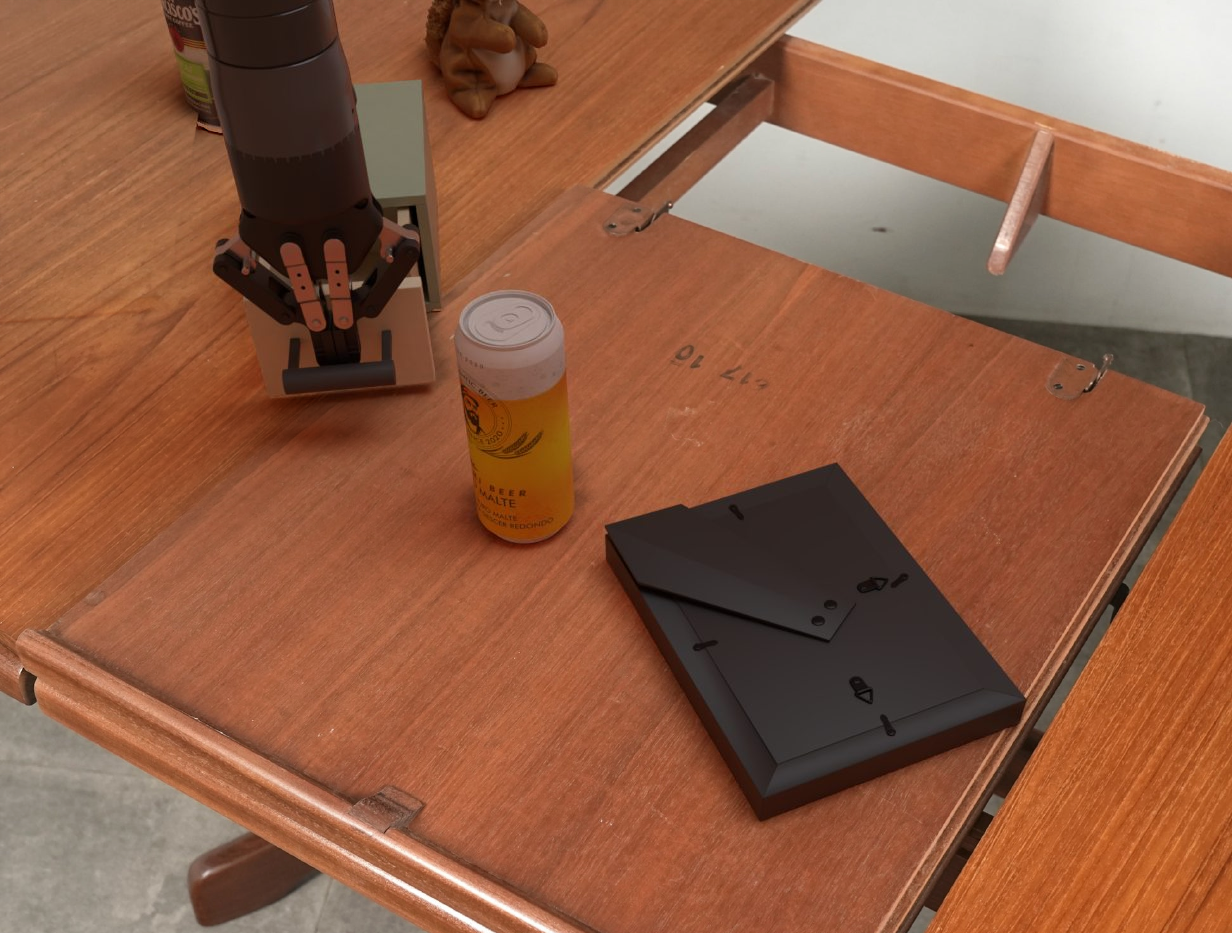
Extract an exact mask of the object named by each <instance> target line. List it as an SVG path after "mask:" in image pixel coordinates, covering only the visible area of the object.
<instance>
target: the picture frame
mask: <svg viewBox="0 0 1232 933" xmlns="http://www.w3.org/2000/svg"><path fill="white" fill-rule="evenodd" d="M604 529H605V531H606V533H605V534H604V546H605V559H606V561H607V563H608V565H609V566H610V568H611V569H612V571H613V573H614V575H615V576H616V578H617V580H618V581H619V583H620V585H621V586H622V588H623V590H624V592H625V593H626V595H627V597H628V599H629V600H630V602H631V603H632V605H633V607H634V609H635V610H636V612H637V614H638V615H639V617H640V620H642V622H643V624H644V626H645V628H646V629H647V631H648V632H649V634H650V636H651V637H652V640H653V641H654V642H655V645H656V646H657V648H658V650H659V651H660V653H661V655H662V656H663V658H664V659H665V661H666V663H667V665H668V667H669V668H670V670H671V671H672V673H673V675H674V677H675V679H676V680H677V682H678V684H679V685H680V687H681V689H682V691H683V692H684V694H685V695H686V697H687V699H688V701H689V702H690V704H691V706H692V708H693V709H694V711H695V713H696V714H697V716H698V718H699V719H700V721H701V723H702V724H703V727H704V729H705V730H706V731H707V733H708V735H709V736H710V738H711V740H712V741H713V743H714V745H715V747H716V748H717V750H718V752H719V753H720V755H721V757H722V759H723V760H724V762H725V763H726V765H727V767H728V769H729V770H730V772H731V774H732V776H733V777H734V779H735V781H736V782H737V784H738V786H739V787H740V790H741V791H742V793H743V795H744V796H745V798H746V800H747V802H748V803H749V804H750V806H751V808H752V809H753V811H754V813H755V815H756V817H757V819H758V820H759V821H760V822H763V821H765V820H767V819H770V818H773V817H775V816H779V815H780V814H781V815H782V814H783V813H785V812H789V811H791V810H794V809H797V808H799V807H802V806H804V805H808V804H810V803H812V802H815V801H818V800H821V799H823V798H826V797H829V796H831V795H833V794H836V793H839V792H841V791H844V790H848V789H850V788H852V787H854V786H858V785H860V784H863V783H865V782H868V781H871V780H874V779H876V778H879V777H881V776H883V775H886V774H889V773H891V772H895V771H897V770H899V769H903V768H905V767H907V766H910V765H912V764H916V763H918V762H921V761H923V760H927V759H929V758H931V757H934V756H937V755H939V754H942V753H944V752H948V751H949V750H953V749H955V748H958V747H960V746H963V745H965V744H968V743H971V742H974V741H976V740H978V739H982V738H984V737H987V736H990V735H992V734H996V733H997V732H1000V731H1003V730H1006V729H1008V728H1011V727H1013V726H1016V725H1018V724H1020V723H1021V720H1022V717H1023V714H1024V711H1025V707H1026V704H1027V701H1028V698H1026V696H1025V695H1024V694H1023V693H1022V691H1021V690H1020V688H1018V687H1017V684H1015V683H1014V681H1013V680H1012V679H1011V678H1010V676H1009V675H1008V674H1007V673H1006V671H1005V670H1004V669H1003V668H1002V667H1001V665H1000V663H998V661H997V660H996V659H995V657H993V655H992V654H991V652H990V651H989V650H988V648H986V646H985V645H984V643H983V642H982V641H981V640H980V639H979V638H978V636H976V634H975V632H973V630H972V629H971V627H970V626H969V625H968V624H967V623H966V621H965V620H964V618H962V616H961V615H960V614H959V613H958V611H957V610H956V609H955V608H954V607H953V605H952V604H951V603H950V601H949V600H948V599H947V598H946V596H945V595H944V594H943V593H942V592H941V590H940V589H939V588H938V587H937V585H936V584H935V583H934V581H933V580H932V579H931V578H930V576H929V575H928V574H927V573H926V571H925V570H924V569H923V568H922V567H921V565H920V564H919V563H918V562H917V560H916V559H915V558H914V556H912V553H910V552H909V550H908V549H907V548H906V547H905V545H904V544H903V543H902V541H901V540H900V538H898V536H896V534H895V533H894V531H893V530H892V529H891V528H890V526H889V525H888V524H887V522H886V521H885V520H884V519H883V518H882V516H881V515H880V513H878V512H877V510H876V509H875V508H874V507H873V505H872V504H871V503H870V502H869V500H868V499H867V498H866V496H865V495H864V494H863V493H862V491H861V490H860V489H859V488H858V486H857V485H856V484H855V482H854V481H853V480H852V479H851V478H850V476H849V475H848V474H847V473H846V471H844V469H843V468H842V467H841V465H840V464H839V463H838V462H837V461H836V462H832V463H829V464H827V465H823V466H819V467H816V468H813V469H810V470H807V471H804V472H801V473H797V474H794V475H791V476H788V477H785V478H781V479H778V480H775V481H772V482H768V483H764V484H762V485H759V486H755V487H752V488H749V489H746V490H742V491H740V492H736V493H733V494H730V495H727V496H724V497H720V498H717V499H714V500H711V501H707V502H704V503H701V504H698V505H695V506H691V507H688V506H687V505H684V504H682V503H679V504H675V505H671V506H667V507H664V508H660V509H657V510H654V511H651V512H647V513H643V514H640V515H636V516H633V517H630V518H629V517H628V518H626V519H625V518H624V519H622V520H619V521H615V522H611V523H608V524H605V525H604Z"/></svg>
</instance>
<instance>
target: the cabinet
mask: <svg viewBox="0 0 1232 933" xmlns="http://www.w3.org/2000/svg"><path fill="white" fill-rule="evenodd" d="M353 86H354V89H355V93H356V97H357V103H356V109H357V115H358V120H359V126H360V132H361V138H362V143H363V149H364V155H365V161H366V167H367V172H368V178H369V184H370V189H371V192H372V194H373V195H374V197H375V198H376V199H377V201H378V202H379V203H380V204H381V206H382V208H388V207H400V206H413V205H414V210H415V216H416V223H417V228H418V229H419V237H420V250H421V271H422V288H423V295H424V301H425V308H426V313H431V312H430V311H433V310H434V309H442V310H443V299H442V298H443V297H442V280H441V279H442V278H441V257H440V256H441V255H440V236H439V217H438V216H439V215H438V194H437V184H436V176H435V170H434V162H433V156H432V155H433V154H432V146H431V139H430V132H429V125H428V124H429V123H428V117H427V110H426V109H427V108H426V103H425V94H424V89H423V80H422V79H410V80H397V81H383V82H370V83H357V84H353ZM239 210H240V212H241V211H242V208H241V207H240V208H239ZM257 261H258V262H259V255H258V254H257Z"/></svg>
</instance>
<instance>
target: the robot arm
mask: <svg viewBox="0 0 1232 933" xmlns="http://www.w3.org/2000/svg"><path fill="white" fill-rule="evenodd" d="M194 2H195V6H196V10H197V14H198V18H199V22H200V26H201V30H202V34H203V38H204V42H205V46H206V50H207V55H208V61H209V71H210V80H211V87H212V92H213V97H214V101H215V105H216V109H217V113H218V117H219V121H220V125H221V129H222V133H223V134H222V136H223V139H224V141H223V142H224V145H225V149H226V152H227V156H228V160H229V164H230V169H231V171H232V175H233V180H234V183H235V186H236V187H235V188H236V192H237V194H238V199H239V204H240V209H241V208H242V211H241V210H240V215H239V217H238V218H239V223H238V225H237V226H238V228H237V230H238V231H237V232H236V233H235V234H234V235H233V236H232V237H230V238H226V237H223V238H220V239H218V240H217V241H216V243H215V249H214V256H213V261H212V262H213V263H212V271H213V274H214V275H215V276H216V277H218V278H219V279H220V280H222V281H223V282H224V283H226V284H227V285H228V286H229V287H231V288H232V289H233V290H235V291H236V292H237V293H239V294H240V295H241V296H242V297H243V296H244V297H245V298H247V299H248V300H249V301H251V302H252V303H253V304H255V305H256V306H257V307H258V308H260V309H261V310H262V311H264V312H265V313H266V314H268V315H269V316H270V317H272V318H273V319H274V320H276V321H277V322H278V323H280V324H281V325H291V324H292V323H293V322H295V323H300V324H303V325H305V326H306V327H307V328H308V329H309V331H310V335H311V339H312V344H313V348H314V352H315V357H316V361H317V363H318V364H319V366H328V365H339V364H351V363H360V360H361V342H360V337H359V332H358V326H357V321H358V320H359V319H360V318H363V317H366V318H376V317H377V316H378V315H379V314H380V313H381V311H382V310H383V309H384V307H385V306H386V304H387V303H388V301H389V300H390V299H391V297H392V296H393V294H394V293H395V292H396V290H397V289H398V287H399V286H400V284H401V283H402V282H403V280H404V279H405V277H406V276H407V275H408V273H409V272H410V270H411V269H412V267H413V266H414V265H415V263H416V262H417V260H418V259H419V257H420V237H419V229H418V228H417V227H416V226H415V225H413V224H405V225H403V226H402V227H401V226H399V225H398V224H396V223H394V222H392V221H390V220H388V219H387V218H385V217H383V215H384V214H383V209H382V206H381V204H380V203H379V202H378V201H377V199H376V198H375V197H374V195H373V194H372V192H371V189H370V184H369V178H368V172H367V167H366V161H365V155H364V149H363V143H362V138H361V132H360V126H359V120H358V115H357V109H356V103H357V97H356V93H355V89H354V86H353V85H354V84H353V81H352V76H351V71H350V66H349V64H348V59H347V57H346V54H345V50H344V47H343V44H342V41H341V37H340V33H339V28H338V21H337V16H336V10H335V4H334V0H194ZM377 238H379V239H380V240H381V241H380V255H381V257H380V259H379V260H378V262H377V263H376V264H375V266H374V267H373V269H372V270H371V272H370V273H369V275H368V276H367V278H366V279H365V281H364V282H363V283H362V285H361V287H359V288H357V289H354V290H353V285H352V274H353V273H354V272H355V271H357V270H358V268H359V267H360V266H361V264H362V263H363V261H364V259H365V258H366V256H367V254H368V253H369V251H370V250H371V248H372V246H373V245H374V243H375V241H376V240H377ZM257 254H258V255H259V256H260V257H261V258H262V259H264V260H265V261H266V262H267V263H268V264H269V265H271V266H272V267H273V268H274V269H275V270H277V271H278V272H279V273H280V274H281V275H283V276H284V277H286V278H289V279H290V281H291V284H292V287H293V288H291V287H290V286H289V285H288V284H286V283H285V282H284V281H283V280H281V279H280V278H279V277H277V276H276V275H275V274H274V273H272V272H271V271H270V270H269V269H267V268H266V267H265V266H264V265H262V264H261V263H260V262H258V261H257ZM321 279H326V280H328V284H329V292H330V299H331V302H332V310H333V313H332V310H328V307H327V298H326V295H325V291H324V288H323V285H322V282H321Z"/></svg>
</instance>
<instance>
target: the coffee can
mask: <svg viewBox="0 0 1232 933" xmlns="http://www.w3.org/2000/svg"><path fill="white" fill-rule="evenodd" d="M160 4H161V6H162V11H163V14H164V18H165V22H166V25H167V30H168V33H169V36H170V40H171V44H172V48H173V51H174V56H175V59H176V63H177V66H178V70H179V71H178V72H179V74H180V78H181V81H182V85H183V86H182V87H183V89H184V93H185V99H186V102H187V104H188V105H189V107H190V108H191V109H192V110H193V111H194V112H196V113H198V115H197V120H196V122H197V121H198V122H200V123H202V124H204V125H207V126H210V127H213V128H217V129H221V125H220V121H219V117H218V113H217V109H216V105H215V101H214V97H213V92H212V87H211V80H210V71H209V61H208V55H207V50H206V46H205V42H204V38H203V34H202V30H201V26H200V22H199V18H198V14H197V10H196V6H195V2H194V0H160ZM221 130H222V129H221Z"/></svg>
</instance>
